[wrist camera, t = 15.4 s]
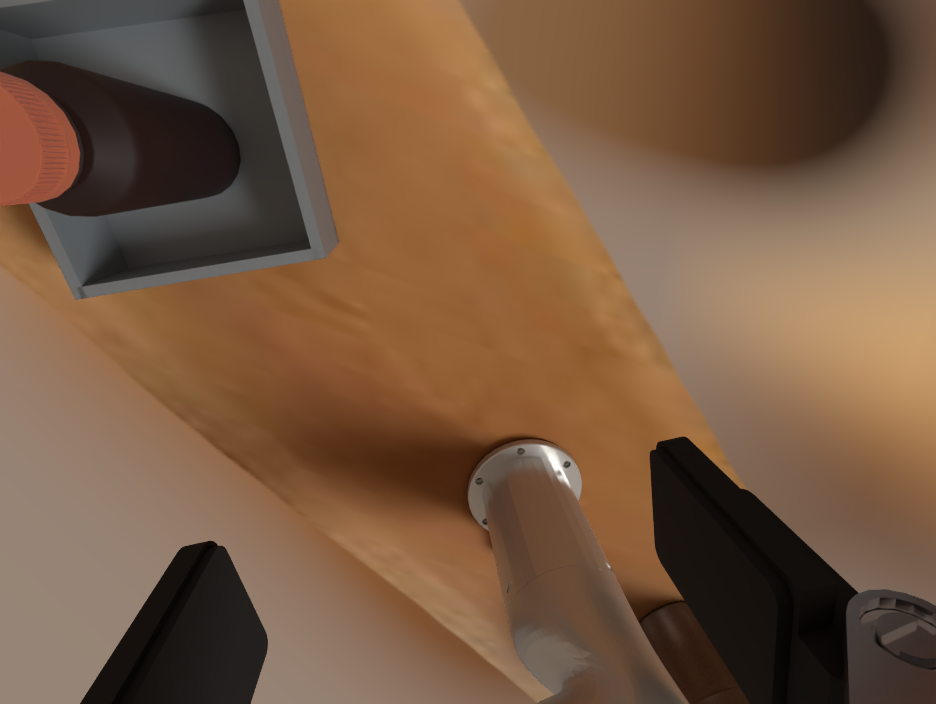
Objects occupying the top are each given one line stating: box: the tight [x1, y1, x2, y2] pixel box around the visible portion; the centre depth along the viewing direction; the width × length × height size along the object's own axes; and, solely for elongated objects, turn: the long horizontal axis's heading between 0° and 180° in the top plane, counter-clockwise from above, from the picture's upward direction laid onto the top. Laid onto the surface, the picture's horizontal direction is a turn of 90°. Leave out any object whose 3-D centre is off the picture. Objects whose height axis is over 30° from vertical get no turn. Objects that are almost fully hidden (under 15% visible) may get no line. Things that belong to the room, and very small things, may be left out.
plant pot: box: [639, 602, 750, 704], centre depth 57 cm, size 16×16×16 cm
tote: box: [0, 0, 339, 300], centre depth 33 cm, size 18×18×7 cm
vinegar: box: [0, 60, 241, 217], centre depth 27 cm, size 7×7×20 cm
